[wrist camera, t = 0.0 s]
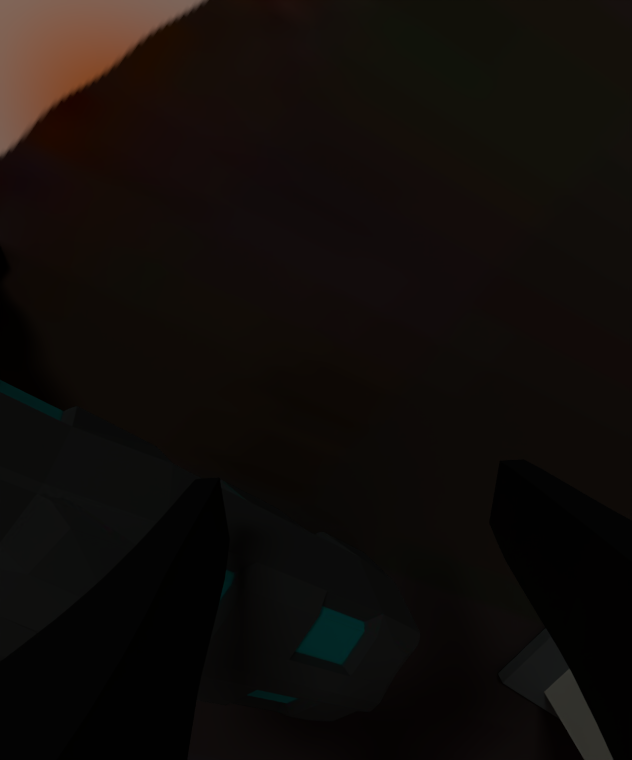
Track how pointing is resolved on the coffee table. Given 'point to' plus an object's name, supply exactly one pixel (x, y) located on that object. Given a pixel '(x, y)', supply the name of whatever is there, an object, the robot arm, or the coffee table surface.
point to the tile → (577, 717)
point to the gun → (242, 579)
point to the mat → (535, 670)
